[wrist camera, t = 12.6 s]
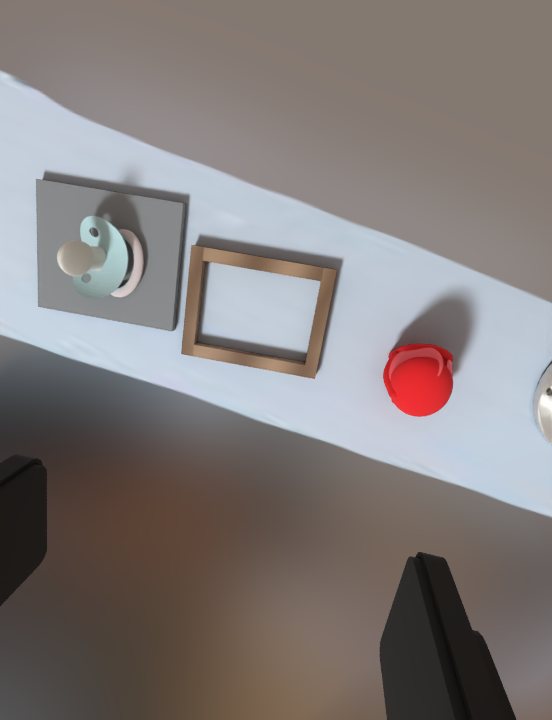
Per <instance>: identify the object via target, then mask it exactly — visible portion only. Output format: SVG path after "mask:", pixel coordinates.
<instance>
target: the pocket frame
mask: <svg viewBox="0 0 552 720" xmlns="http://www.w3.org/2000/svg"><path fill="white" fill-rule="evenodd" d="M206 261H208V262H214V263H219V264H225V265H231V266H237V267H243V268H248V269H254V270H260V271H266V272H271V273H277V274H283V275H289V276H294V277H300V278H306V279H312V280H318V281H321V284H320V289H319V294H318V299H317V304H316V310H315V315H314V320H313V325H312V330H311V336H310V341H309V346H308V351H307V356H306V361H305V362H301V361H295V360H290V359H284V358H279V357H274V356H268V355H263V354H257V353H252V352H246V351H241V350H236V349H230V348H225V347H219V346H214V345H208V344H203V343H198V342H197V338H198V328H199V319H200V309H201V300H202V290H203V281H204V272H205V262H206ZM336 272H337V270H335V269H330V268H324V267H318V266H312V265H306V264H300V263H295V262H289V261H283V260H277V259H271V258H265V257H260V256H254V255H248V254H242V253H236V252H230V251H225V250H219V249H213V248H207V247H201V246H195V245H191V256H190V266H189V277H188V288H187V298H186V309H185V319H184V330H183V341H182V351H181V354H184V355H190V356H195V357H200V358H206V359H211V360H216V361H222V362H227V363H233V364H238V365H243V366H249V367H254V368H259V369H265V370H270V371H275V372H281V373H286V374H292V375H297V376H302V377H308V378H313V379H315V376H316V371H317V366H318V361H319V356H320V351H321V346H322V341H323V336H324V331H325V326H326V322H327V317H328V312H329V307H330V302H331V297H332V292H333V287H334V282H335V277H336Z"/></svg>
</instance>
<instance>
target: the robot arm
mask: <svg viewBox="0 0 552 720" xmlns="http://www.w3.org/2000/svg"><path fill="white" fill-rule="evenodd" d="M533 413H534V417H535V422H536V424H537V426H538V429H539V431H540V433H541V434H542V435H543V436H544V438H545V439H546V440H547V441H548V442H549V443H550V444H551V445H552V364H551V365H550V366H549V367H548V368H547V370H546V371H545V373H544V374H543V376H542V377H541V379H540V381H539V384H538V386H537V388H536V392H535V396H534V401H533ZM46 551H47V472H46V468H45V467H44V466H43V464H42V462H41V460H39V459H37V458H32V457H29V456H24V455H20V454H16V455H13V456H11V457H10V458H8V459H6V460H5V461H3V462H2V463H0V606H1V605H2V604H3V603H4V601H6V599H8V597H9V596H10V595H11V594H12V593H13V592H14V591H15V590H16V589H17V588H18V587H19V586H20V584H22V583H23V582H24V581H25V580H26V578H27V577H28V576H29V575H30V574H31V573H32V572H33V571H34V570H35V569H36V568H37V567H38V566H39V565H40V563H41V562H42V561H43V559H44V557H45V555H46ZM380 663H381V671H382V679H383V689H384V697H385V705H386V714H387V720H516V717H515V715H514V712H513V710H512V707H511V705H510V703H509V700H508V697H507V695H506V692H505V690H504V687H503V685H502V682H501V680H500V677H499V675H498V672H497V669H496V667H495V664H494V662H493V659H492V657H491V654H490V652H489V649H488V647H487V644H486V643H485V640H484V638H483V636H482V635H481V634H480V633H479V632H478V631H474V630H472V628H471V625H470V623H469V620H468V617H467V615H466V612H465V609H464V606H463V604H462V601H461V599H460V596H459V593H458V591H457V588H456V585H455V582H454V580H453V577H452V574H451V572H450V569H449V566H448V564H447V562H446V560H445V559H444V558H443V557H438V556H434V555H430V554H426V553H422V552H418V554H417V555H416V557H409V558H408V560H407V562H406V565H405V568H404V571H403V574H402V577H401V580H400V584H399V587H398V589H397V592H396V595H395V598H394V601H393V604H392V608H391V610H390V613H389V616H388V620H387V623H386V625H385V629H384V631H383V635H382V638H381V642H380Z"/></svg>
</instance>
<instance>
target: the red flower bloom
mask: <svg viewBox="0 0 552 720" xmlns="http://www.w3.org/2000/svg"><path fill="white" fill-rule="evenodd" d="M452 362H453V356H452V354H451V353H450V352H449V351H447V350H445V349H443V348H441V347H439V346H435V345H430V344H408V345H403V346H400V347H398V348H397V349H395V350H394V351H392V352H390V353H389V360H388V362H387V364H386V366H385V369H384V373H383V379H384V383H385V386H386V388H387V391H388V394H389V396H390V397H391V400H392V402H393V403H394V404H395V405H396V406H397V407H398V408H399V409H400V410H401V411H403V412H404V413H406V414H408V415H412V416H418V417H421V416H428V415H431V414H433V413H435V412H437V411H439V410H440V409H441V408H442V407H443V406H444V405H445V404H446V403H447V401H448V400H449V398H450V396H451V393H452V389H453V378H452V376H453V367H452Z"/></svg>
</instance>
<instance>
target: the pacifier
mask: <svg viewBox="0 0 552 720" xmlns="http://www.w3.org/2000/svg"><path fill="white" fill-rule="evenodd" d="M93 227H94V228H96V229H97V230H98V233H99V235H98V237H95V236H93V235H92V233H91V229H92V228H93ZM80 235H81V240H82V241H77V240H74V241H69V242H67V243H65V244H63V245H62V246H61V247H60V249H59V251H58V253H57V261H58V264H59V266H60V268H61V269H62V270H63V271H64V272H65V273H67V274H69V275H71V276H73V285H74V287H75V289H76V291H77V292H78V293H79V294H80V295H82V296H84V297H87V298H100V297H105V296H107V295H109V294H111V295H113V296H114V297H124V296H127V295H128V294H130V293H131V292H132V291H133V290H134V289H135V288H136V286H137V285H138V283H139V281H140V278H141V275H142V272H143V265H144V256H143V250H142V246H141V244H140V242H139V240H138V238H137V237H136V236H135V234H134V233H133V232H131V231H129V230H126V229H120V230H118V229H117V228H116V227H115V226H114V225H113V224H111V223H110V222H109V221H107V220H105V219H103V218H101V217H97V216H89V217H86V218H85V219H84V220H83V221H82V223H81V227H80ZM124 239H125V240H127V242H128V243H129V244H130V246H131V248H132V250H133V255H134V267H133V271H132V275H131V277H130V279H129V281H128V282H127V283H126V284H125V285H124V286H123V287H121V288H118V287H119V286H120V284H121V283H122V281H123V280H124V277H125V275H126V272H127V268H128V260H129V259H128V249H127V245H126V243H125V240H124ZM85 274H90V275H91V280H90V282H88V283H86V282H85V281H84V280H83V277H84V275H85Z"/></svg>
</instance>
